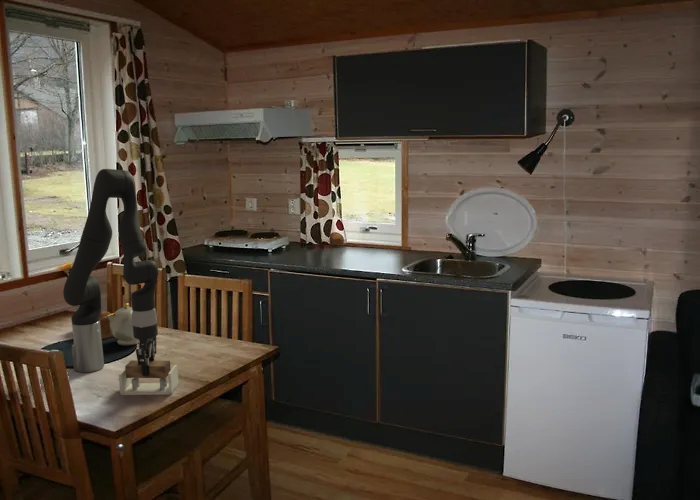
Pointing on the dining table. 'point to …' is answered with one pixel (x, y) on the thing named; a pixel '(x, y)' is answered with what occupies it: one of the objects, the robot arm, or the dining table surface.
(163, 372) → the brown rectangular block
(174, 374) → the shelf frame
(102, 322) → the bread
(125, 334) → the teapot
